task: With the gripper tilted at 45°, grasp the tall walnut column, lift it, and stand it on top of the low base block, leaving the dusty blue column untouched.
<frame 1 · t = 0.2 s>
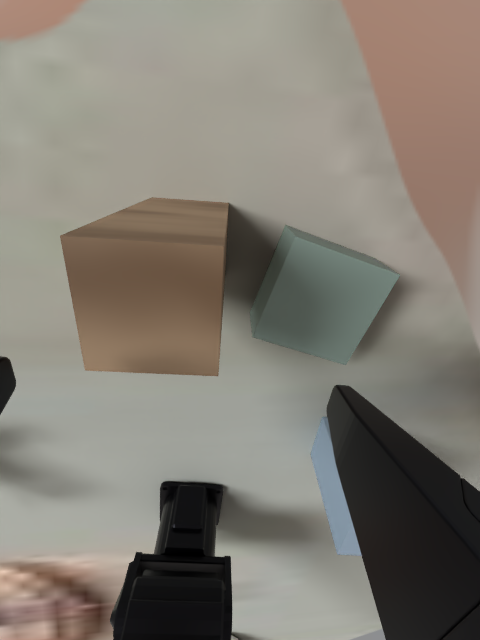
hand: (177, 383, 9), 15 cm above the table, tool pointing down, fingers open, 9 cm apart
blue column: (341, 437, 30), on the table
white tied sack: (224, 635, 50), on the table
walnut column: (190, 238, 21), on the table
base block: (309, 285, 23), on the table
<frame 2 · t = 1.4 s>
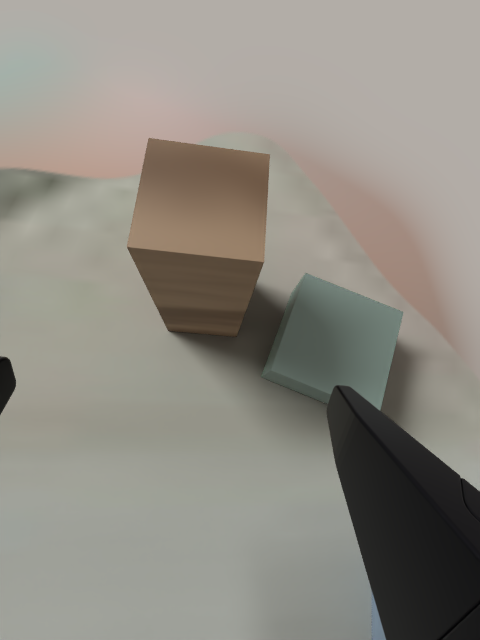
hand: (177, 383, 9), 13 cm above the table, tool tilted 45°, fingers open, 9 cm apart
blue column: (410, 601, 19), on the table
walnut column: (206, 301, 24), on the table
base block: (319, 351, 24), on the table
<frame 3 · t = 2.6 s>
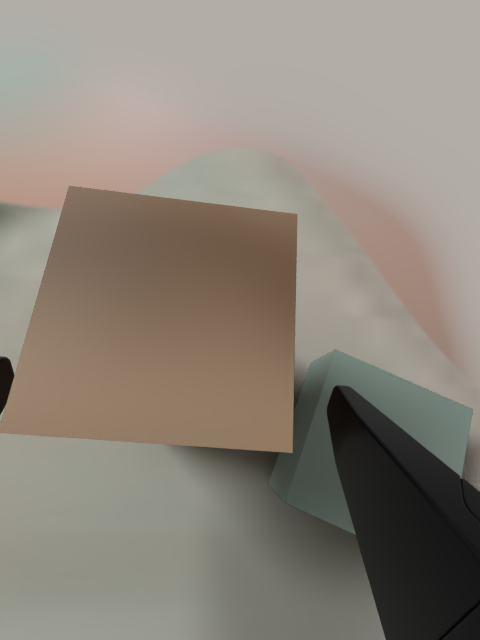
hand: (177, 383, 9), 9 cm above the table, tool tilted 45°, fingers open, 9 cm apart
walnut column: (195, 377, 18), on the table
base block: (347, 444, 18), on the table
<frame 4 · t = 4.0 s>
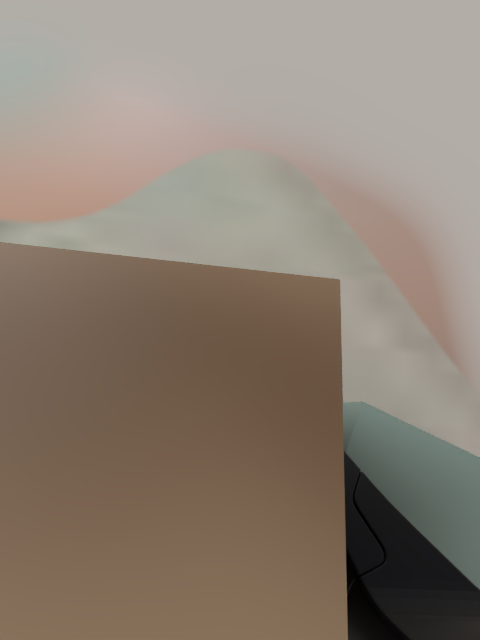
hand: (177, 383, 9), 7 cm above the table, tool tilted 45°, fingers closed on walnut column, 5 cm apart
walnut column: (186, 426, 15), on the table, touching gripper
base block: (368, 506, 15), on the table
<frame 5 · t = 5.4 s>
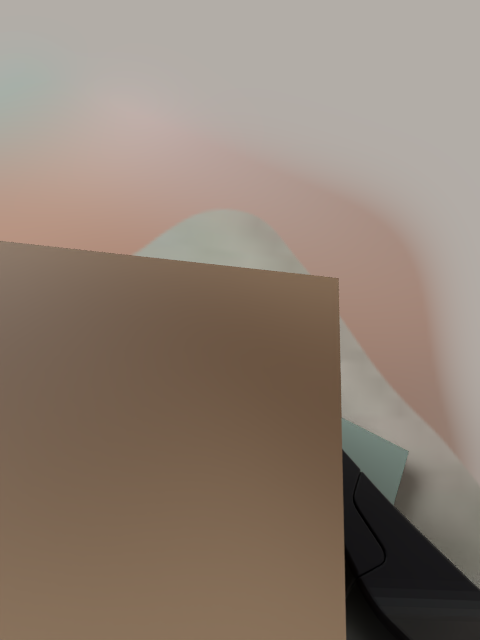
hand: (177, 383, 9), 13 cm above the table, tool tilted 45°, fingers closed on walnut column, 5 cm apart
walnut column: (186, 425, 15), point 7 cm above the table, touching gripper
base block: (311, 470, 21), on the table
when the fingers open (12 cm above the table, at t = 6.7 s): walnut column drops 1 cm, point 4 cm above the table.
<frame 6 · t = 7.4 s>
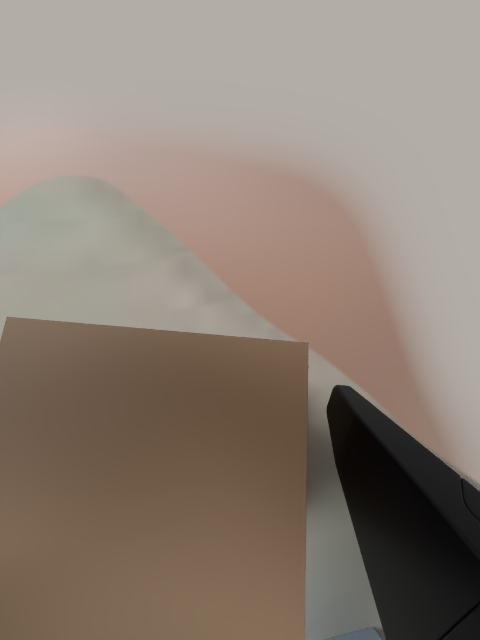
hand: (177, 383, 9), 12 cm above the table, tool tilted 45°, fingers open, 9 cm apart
walnut column: (187, 424, 16), point 4 cm above the table
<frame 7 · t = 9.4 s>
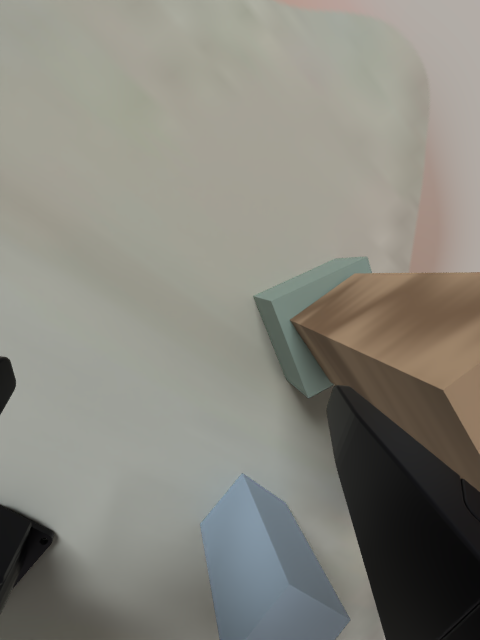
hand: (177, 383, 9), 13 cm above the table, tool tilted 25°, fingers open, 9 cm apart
blue column: (244, 513, 25), on the table
walnut column: (342, 328, 20), point 4 cm above the table, tilted 6°, touching base block
base block: (308, 319, 24), on the table, touching walnut column
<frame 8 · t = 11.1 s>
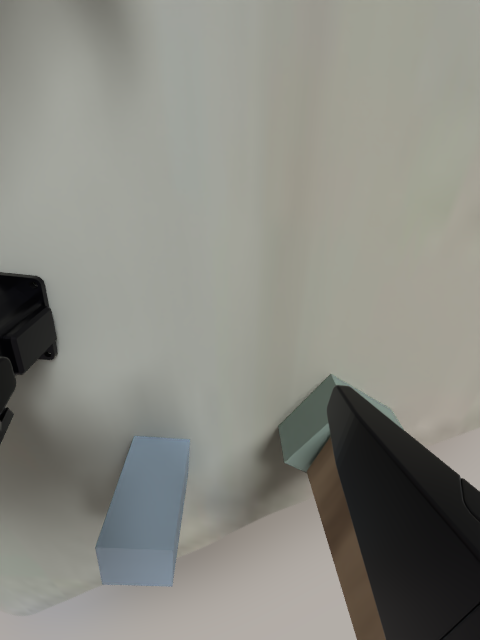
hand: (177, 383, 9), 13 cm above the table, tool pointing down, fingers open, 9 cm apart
blue column: (162, 456, 29), on the table
walnut column: (349, 456, 24), point 4 cm above the table
base block: (333, 415, 28), on the table
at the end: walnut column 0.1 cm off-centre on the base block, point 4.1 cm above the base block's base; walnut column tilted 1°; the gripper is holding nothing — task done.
